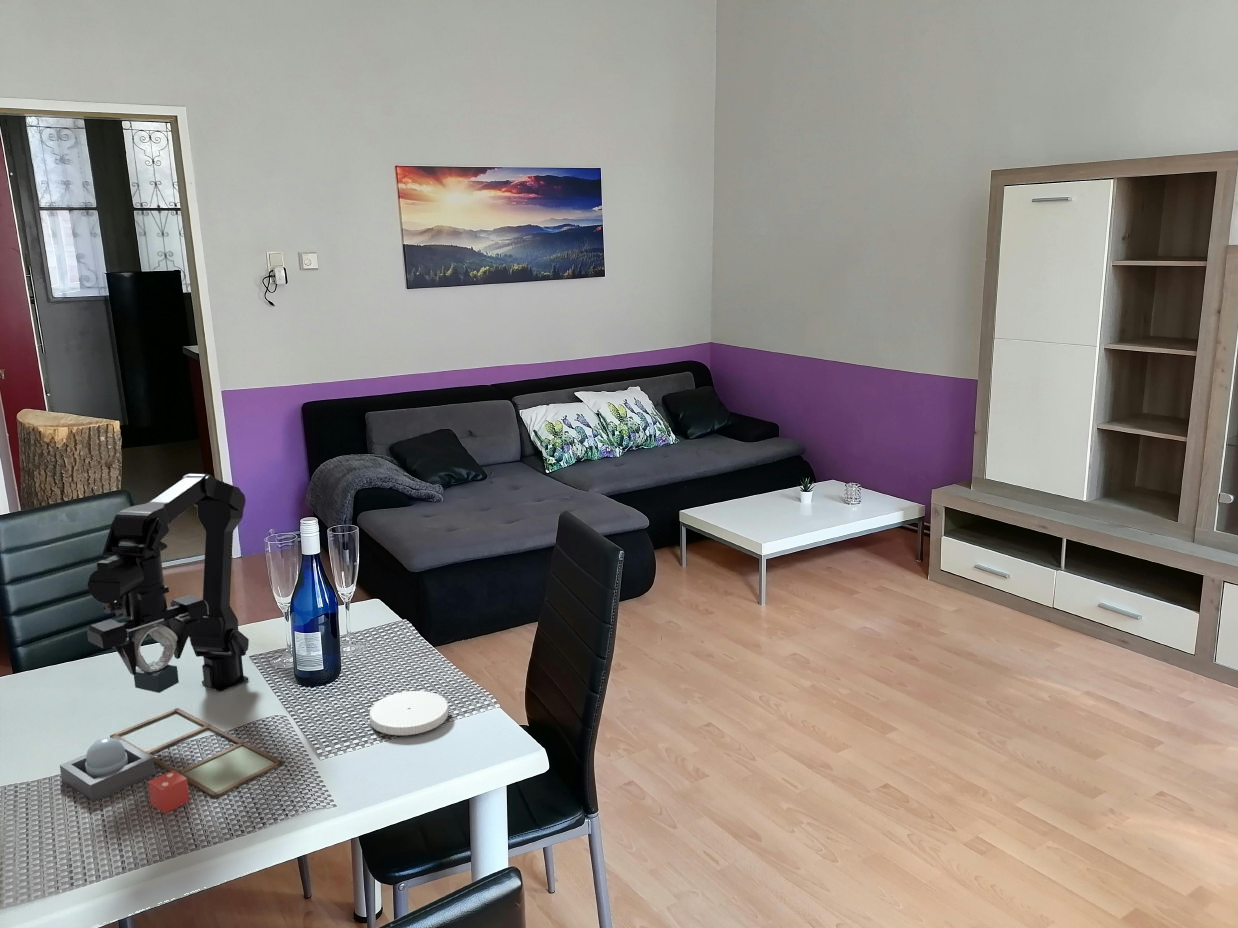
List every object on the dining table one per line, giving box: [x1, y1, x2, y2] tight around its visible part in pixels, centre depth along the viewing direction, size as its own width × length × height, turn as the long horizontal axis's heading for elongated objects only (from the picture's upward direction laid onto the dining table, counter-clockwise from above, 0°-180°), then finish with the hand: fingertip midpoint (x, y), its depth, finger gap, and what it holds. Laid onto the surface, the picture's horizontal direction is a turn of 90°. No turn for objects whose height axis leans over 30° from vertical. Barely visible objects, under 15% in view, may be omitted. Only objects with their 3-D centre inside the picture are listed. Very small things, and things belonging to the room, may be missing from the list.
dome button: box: [85, 737, 128, 779], centre depth 155 cm, size 6×6×6 cm
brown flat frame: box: [109, 707, 284, 799], centre depth 164 cm, size 13×32×1 cm, turn 54°
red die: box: [147, 771, 191, 814], centre depth 148 cm, size 4×4×4 cm
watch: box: [130, 623, 180, 694], centre depth 166 cm, size 6×8×11 cm
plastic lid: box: [369, 690, 449, 736], centre depth 174 cm, size 14×14×2 cm
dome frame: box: [59, 739, 156, 803], centre depth 155 cm, size 10×10×3 cm
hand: (155, 665), depth 167 cm, fingers closed on watch, 8 cm apart
